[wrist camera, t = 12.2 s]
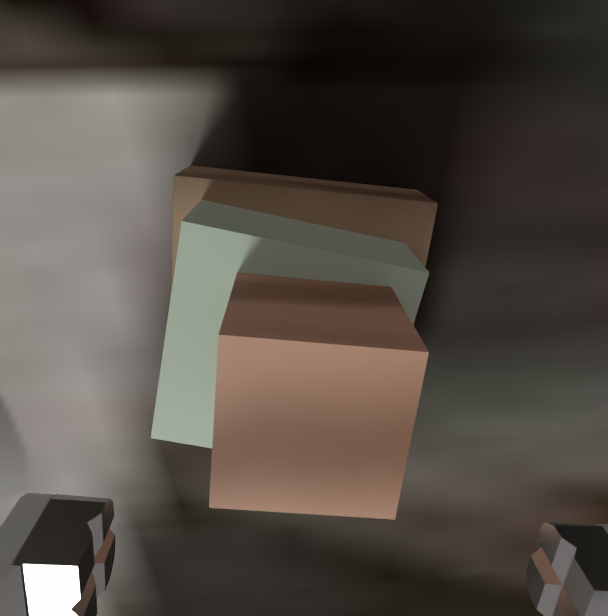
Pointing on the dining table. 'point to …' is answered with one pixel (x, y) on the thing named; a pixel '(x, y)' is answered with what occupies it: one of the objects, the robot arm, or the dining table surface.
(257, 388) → the terracotta cube
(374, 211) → the walnut block
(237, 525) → the dining table surface
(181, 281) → the sage block
